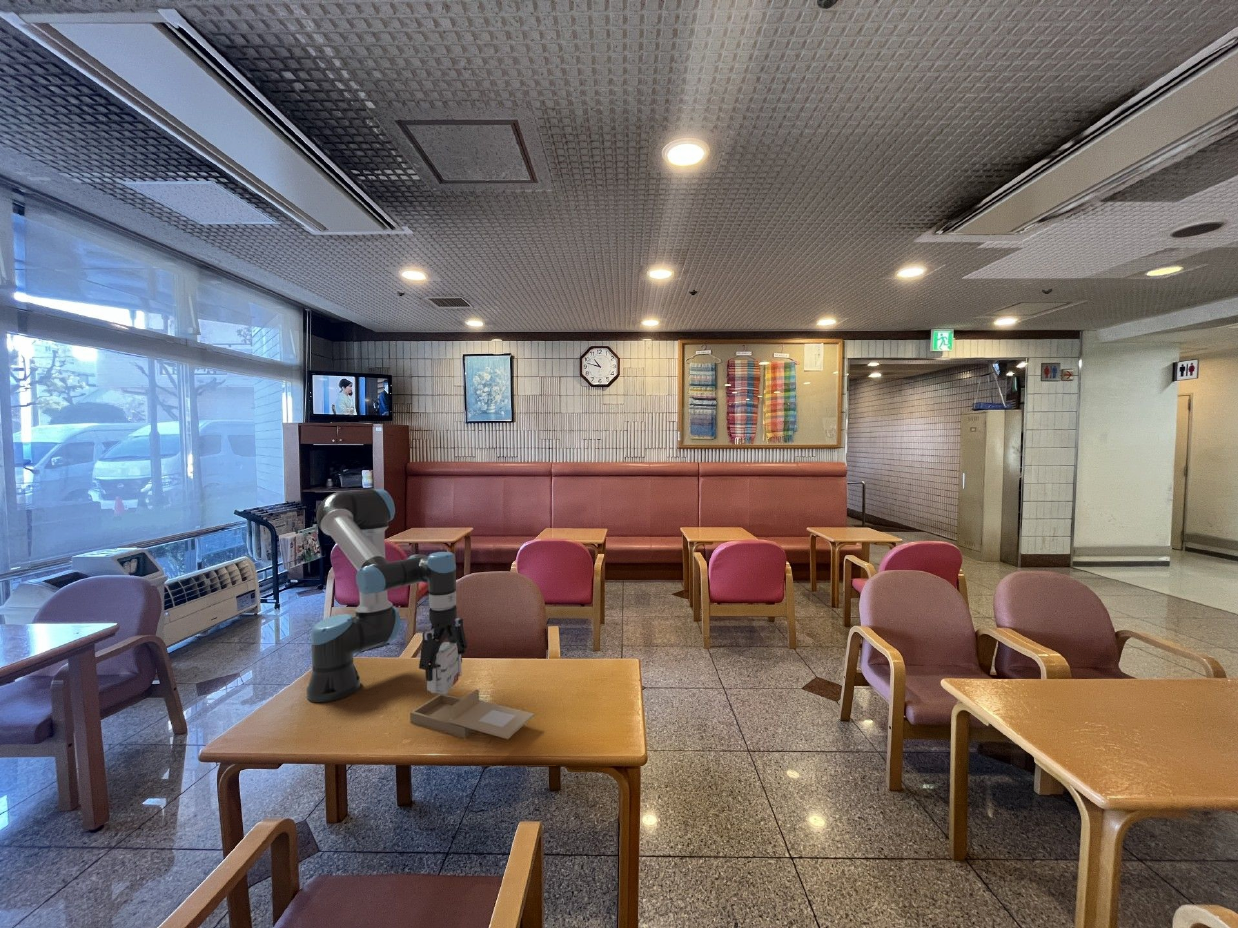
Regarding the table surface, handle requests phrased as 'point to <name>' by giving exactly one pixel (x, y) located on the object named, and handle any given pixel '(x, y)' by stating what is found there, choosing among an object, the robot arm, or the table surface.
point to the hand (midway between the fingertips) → (445, 682)
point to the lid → (488, 716)
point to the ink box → (446, 667)
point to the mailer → (439, 716)
